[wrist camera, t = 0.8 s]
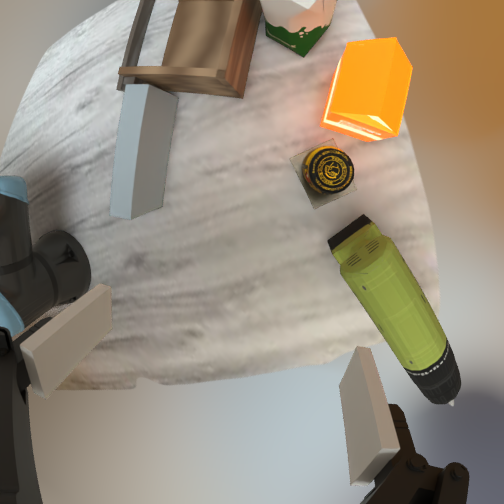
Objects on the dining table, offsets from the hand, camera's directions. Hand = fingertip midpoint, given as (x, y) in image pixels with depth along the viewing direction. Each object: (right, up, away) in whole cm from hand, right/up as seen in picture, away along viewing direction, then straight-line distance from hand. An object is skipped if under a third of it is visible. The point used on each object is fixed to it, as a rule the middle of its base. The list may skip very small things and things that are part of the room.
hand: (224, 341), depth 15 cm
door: (-13, +21, +32) cm, 40 cm away
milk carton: (+8, +38, +23) cm, 46 cm away
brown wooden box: (-8, +38, +26) cm, 46 cm away
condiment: (+12, +16, +30) cm, 36 cm away
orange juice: (+16, +26, +26) cm, 40 cm away
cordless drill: (+21, +1, +33) cm, 39 cm away
